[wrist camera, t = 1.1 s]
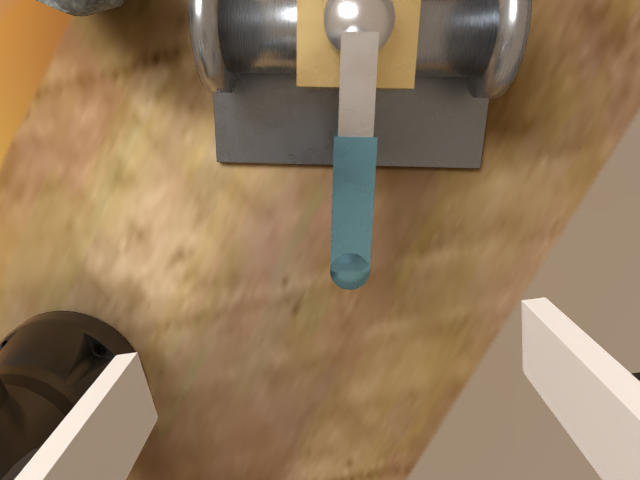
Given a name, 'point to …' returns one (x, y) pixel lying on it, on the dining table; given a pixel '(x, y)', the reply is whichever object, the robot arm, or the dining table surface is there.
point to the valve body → (324, 74)
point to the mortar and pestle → (83, 6)
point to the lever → (355, 132)
